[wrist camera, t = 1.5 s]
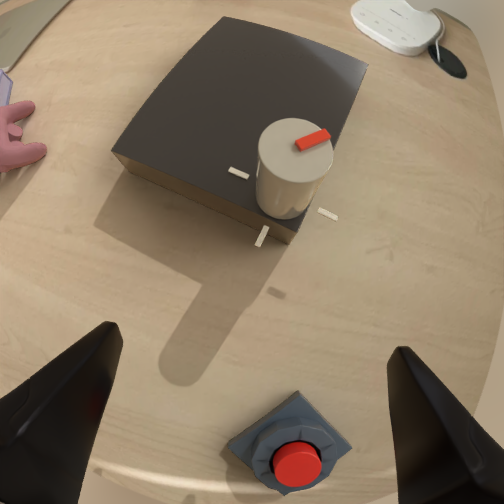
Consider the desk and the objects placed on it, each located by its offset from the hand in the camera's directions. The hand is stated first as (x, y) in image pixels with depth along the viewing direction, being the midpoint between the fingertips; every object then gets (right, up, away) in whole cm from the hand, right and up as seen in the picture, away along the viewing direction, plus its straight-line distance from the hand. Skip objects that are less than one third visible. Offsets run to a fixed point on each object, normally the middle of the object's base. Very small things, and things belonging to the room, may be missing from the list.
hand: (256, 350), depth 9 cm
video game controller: (-26, +15, +16) cm, 34 cm away
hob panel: (0, +13, +16) cm, 21 cm away
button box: (+3, -12, +11) cm, 17 cm away
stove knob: (+2, +7, +10) cm, 13 cm away
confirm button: (+3, -12, +9) cm, 15 cm away
